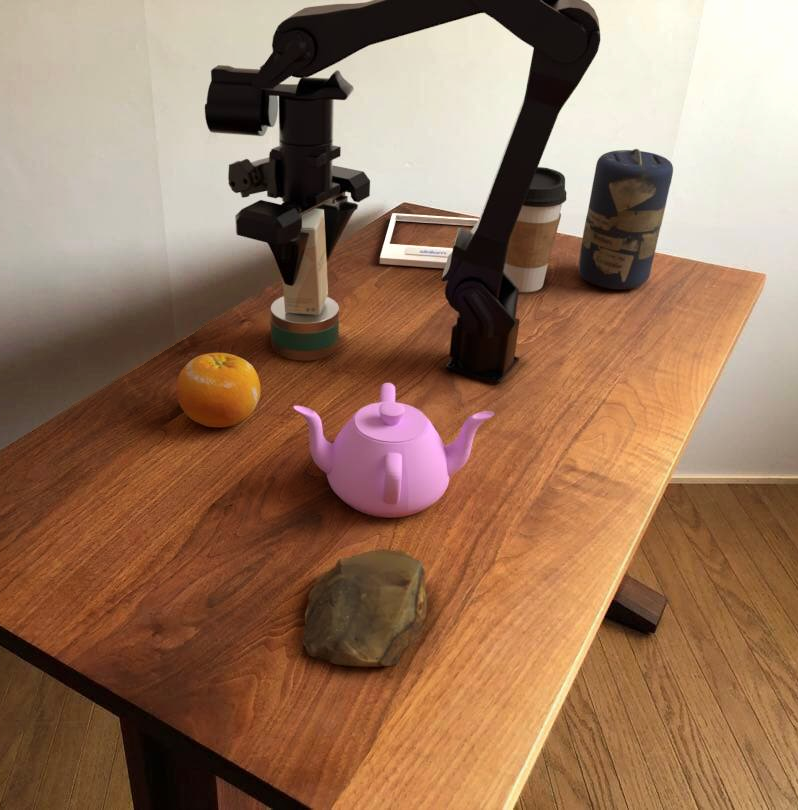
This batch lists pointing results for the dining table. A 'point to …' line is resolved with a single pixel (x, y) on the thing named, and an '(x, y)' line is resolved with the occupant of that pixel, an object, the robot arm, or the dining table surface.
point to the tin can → (304, 332)
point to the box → (310, 269)
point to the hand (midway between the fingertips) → (305, 274)
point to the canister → (624, 218)
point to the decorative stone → (366, 609)
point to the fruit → (218, 389)
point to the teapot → (389, 456)
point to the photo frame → (418, 254)
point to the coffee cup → (535, 231)
